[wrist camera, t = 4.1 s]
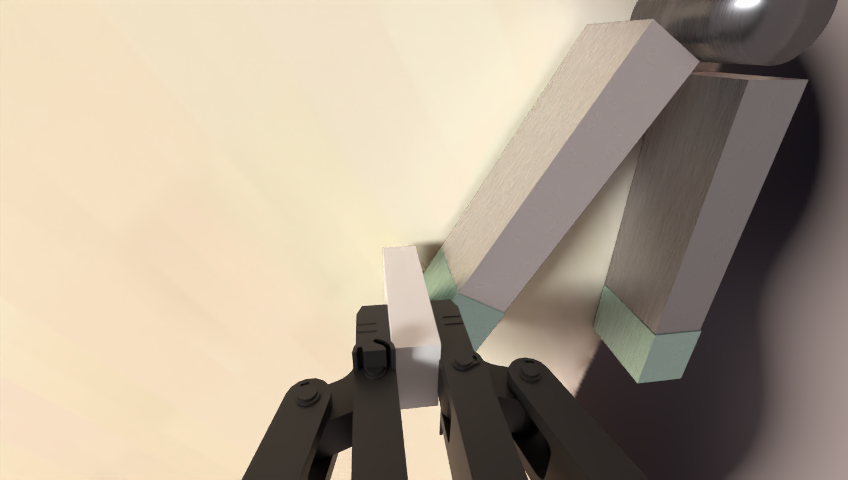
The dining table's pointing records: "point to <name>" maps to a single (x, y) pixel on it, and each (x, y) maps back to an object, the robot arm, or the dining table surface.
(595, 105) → the tong arm
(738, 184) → the base
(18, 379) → the dining table surface
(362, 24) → the dining table surface
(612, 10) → the dining table surface
